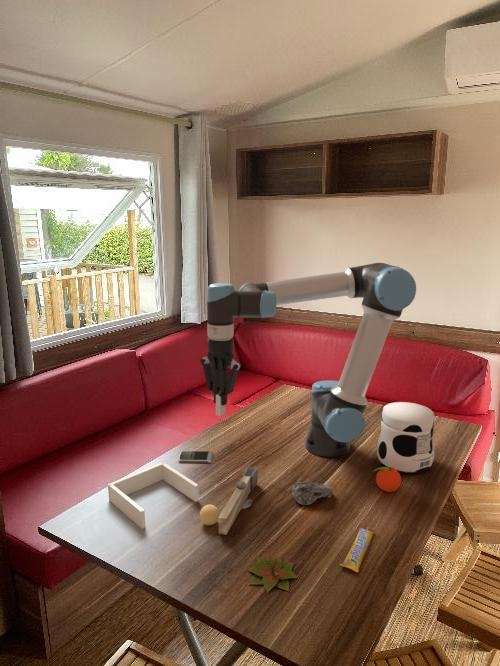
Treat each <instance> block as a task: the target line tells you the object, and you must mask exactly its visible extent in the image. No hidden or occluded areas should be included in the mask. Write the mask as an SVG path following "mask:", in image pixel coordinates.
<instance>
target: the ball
mask: <svg viewBox="0 0 500 666" xmlns="http://www.w3.org/2000/svg"><path fill="white" fill-rule="evenodd" d="M219 516H220V511H219V509H218V508H217V506H216V505H214V504H206V505H204V506H203V507H202V508H201V509H200V512H199V519H200V521H201V522H202V523H203V524H204V525H206V526H213V525H215V524H216V523H217V522H219V520H218V517H219Z"/></svg>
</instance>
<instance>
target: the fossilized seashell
mask: <svg viewBox="0 0 500 666" xmlns="http://www.w3.org/2000/svg"><path fill="white" fill-rule="evenodd" d="M291 490H292V493H291V494H292V497H293V499H295V501H296V502H297V503H298V504H299V505H303V506H307V505H312V504H314V503H315V502H316V501H317V499H321V498H327V499H330V498H331V497H332V496H333V488H332V487H330V486H327V485H325V484H323V483H318V482H306V481H297V482H296V483H294V485H293V486H292V487H291Z"/></svg>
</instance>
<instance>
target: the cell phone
mask: <svg viewBox="0 0 500 666" xmlns="http://www.w3.org/2000/svg"><path fill="white" fill-rule="evenodd" d="M213 459H214V452H213V451H212V450H211V451H207V450H206V451H205V450H202V451H201V450H199V451H197V450H195V451H193V450H191V451H190V450H189V451H188V450H184V451H183V450H182V451H181V452H180V453H179V456H178V459H177V460H178V462H179V463H182V464H183V463H187V464H188V463H189V464H190V463H194V464H199V463H200V464H205V463H206V464H210V463H212V462H213Z"/></svg>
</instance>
